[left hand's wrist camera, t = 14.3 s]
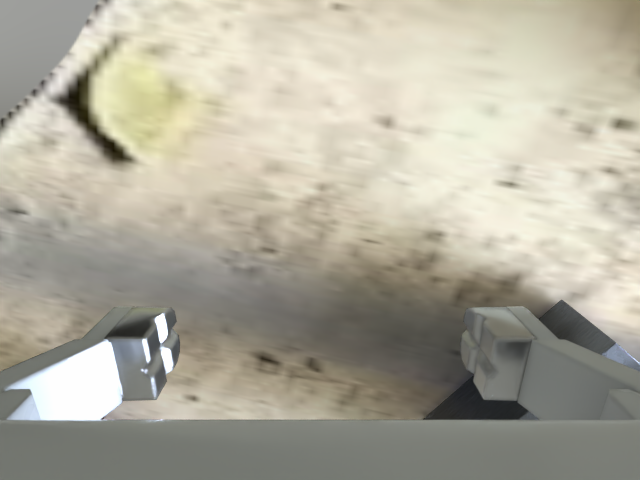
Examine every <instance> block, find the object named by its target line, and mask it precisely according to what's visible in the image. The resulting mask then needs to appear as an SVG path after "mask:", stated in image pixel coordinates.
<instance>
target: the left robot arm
mask: <svg viewBox="0 0 640 480" xmlns="http://www.w3.org/2000/svg"><path fill="white" fill-rule="evenodd" d="M176 322H177V321H176V315H175V311H174V310H173V309H172V307H134V306H126V307H114V308H113V309H112V310H111V311H110V312H109V313H108V314H107V315H106V316H105V317H104V318H103V319H102V320H101V321H100V322H99V323H97V324H96V325H95V326H94V327H93V328H92V329H91V330H90V331H89V332H88V333H87V334H86V335H85V336H84V337H83V338H82V339H80V340H73V341H70V342H68V343H66V344H63V345H61V346H59V347H56V348H54V349H52V350H49V351H47V352H45V353H42V354H40V355H38V356H35V357H33V358H31V359H28V360H26V361H24V362H21V363H19V364H17V365H14V366H12V367H10V368H7V369H5V370H3V371H0V480H640V372H639V371H637V370H635V369H632V368H630V367H628V366H625V365H623V364H621V363H618V362H616V361H614V360H611V359H609V358H607V357H605V356H602V355H600V354H598V353H595V352H593V351H591V350H588V349H586V348H584V347H581V346H579V345H577V344H574V343H572V342H570V341H567V340H560V339H558V338H557V337H556V336H555V335H554V334H553V333H552V332H551V331H550V330H549V329H548V328H547V327H546V326H545V325H544V324H543V323H542V322H541V321H539V320H538V319H537V318H536V317H535V316H534V315H533V314H532V313H531V312H530V311H529V310H528V309H527V308H525V307H522V306H515V307H476V308H467V309H466V312H465V315H464V321H463V322H464V323H465V325H466V326H467V328H468V329H467V330H466V331H465V332H464V333H463V334H462V335H461V341H460V351H461V357H462V361H463V363H464V365H465V367H466V369H467V370H468V371H470V372H471V373H473V374H474V379H473V382H474V383H475V385H476V387H477V389H478V391H479V392H480V394H481V396H482V398H483V399H484V400H508V401H518V403H519V404H520V405H522V406H523V407H524V408H526V409H527V410H528V411H529V412H531V413H532V414H533V415H535V416H536V417H537V418H539V419H540V420H100V419H102V418H103V417H104V416H105V415H107V414H108V413H109V412H111V411H112V410H113V409H115V408H116V407H117V406H118V405H120V404H121V403H122V401H132V400H156V399H157V398H158V396H159V394H160V392H161V391H162V389H163V387H164V385H165V383H166V382H167V379H166V374H167V373H169V372H170V371H172V370H173V369H174V367H175V365H176V363H177V361H178V357H179V353H180V340H179V335H178V334H177V333H176V332H175V331H174V330H173V329H172V328H173V326H174V325H175V323H176Z"/></svg>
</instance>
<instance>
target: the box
mask: <svg viewBox="0 0 640 480" xmlns="http://www.w3.org/2000/svg"><path fill="white" fill-rule="evenodd" d="M539 321H541V322H542V323H543V324H544V325H545V326H546V327H547V328H548V329H549V330H550V331H551V332H552V333H553V334H554V335H555V336H556V337H557V338H558V339H560V340H567V341H570V342H572V343H574V344H577V345H579V346H581V347H584V348H586V349H588V350H591V351H593V352H595V353H598V354H600V355H602V356H605V357H607V358H609V359H611V360H614V361H616V362H618V363H621V364H623V365H625V366H628V367H630V368H632V369H635V370H637V371H639V372H640V363H639V362H638V361H637V360H635V359H634V358H633V357H632V356H631V355H630V354H629V353H627V352H626V351H625V350H624V349H623V348H622V347H620V346H619V345H618V344H617V343H616V342H615V341H613V340H612V339H611V338H610V337H608V336H607V335H606V334H604V333H603V332H602V331H601V330H599V329H598V328H597V327H596V326H594V325H593V324H592V323H591V322H589V321H588V320H587V319H586V318H584V317H583V316H582V315H581V314H579V313H578V312H577V311H576V310H574V309H573V308H572V307H571V306H569V305H568V304H567V303H566V302H564V301H563V300H560V301H559V302H558V303H557V304H556V305H555V306H554V307H552V308H551V309H550V310H549V311H548V312H547V313H545V314H544V315H543V316H542V317H541V318H540V319H539ZM473 379H474V376H473V377H471V378H470V379H469V380H468V381H467V382H466V383H465V384H463V385H462V386H461V387H460V388H459V389H458V390H456V391H455V392H454V393H453V394H452V395H451V396H449V397H448V398H447V399H446V400H445V401H444V402H443V403H441V404H440V405H439V406H438V407H437V408H436V409H434V410H433V411H432V412H431V413H430V414H429V415H428V416H426V417H425V418H424V419H423V420H540V419H539V418H537V417H536V416H535V415H533V414H532V413H531V412H529V411H528V410H527V409H526V408H524V407H523V406H522V405H520V404H519V403H518V401H508V400H484V399H483V398H482V396H481V394H480V392H479V391H478V389H477V387H476V385H475V383H474V382H473Z"/></svg>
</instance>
